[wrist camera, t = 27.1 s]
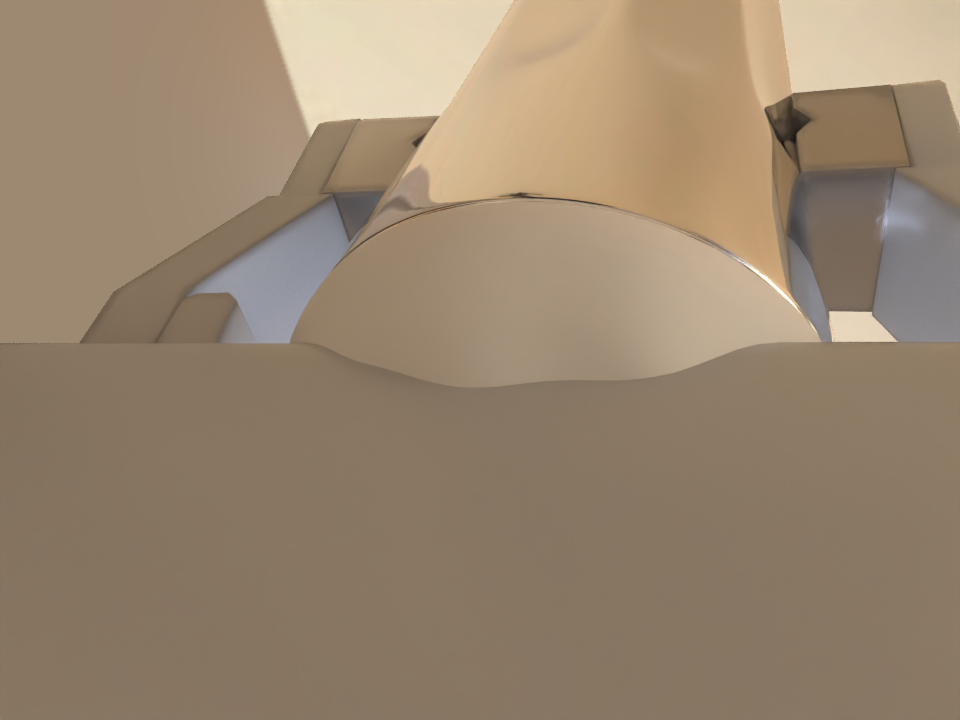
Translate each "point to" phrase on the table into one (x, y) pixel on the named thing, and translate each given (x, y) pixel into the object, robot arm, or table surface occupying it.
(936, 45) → the table surface
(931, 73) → the table surface
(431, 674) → the robot arm
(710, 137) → the milkshake
